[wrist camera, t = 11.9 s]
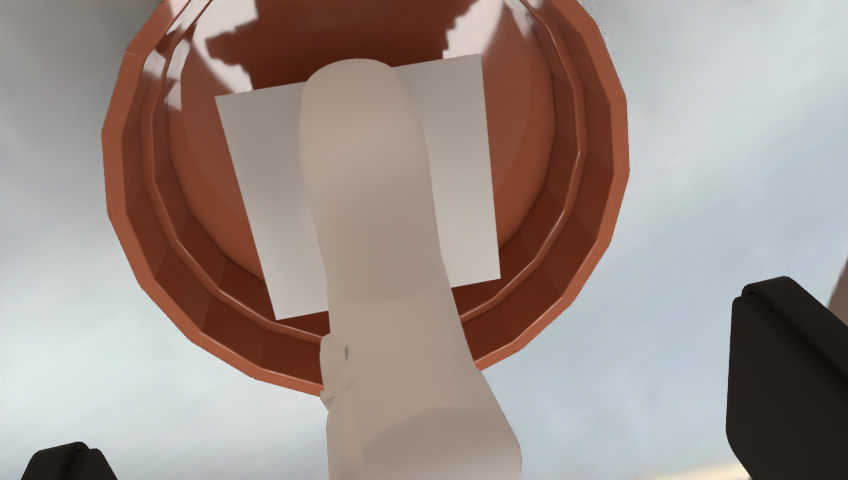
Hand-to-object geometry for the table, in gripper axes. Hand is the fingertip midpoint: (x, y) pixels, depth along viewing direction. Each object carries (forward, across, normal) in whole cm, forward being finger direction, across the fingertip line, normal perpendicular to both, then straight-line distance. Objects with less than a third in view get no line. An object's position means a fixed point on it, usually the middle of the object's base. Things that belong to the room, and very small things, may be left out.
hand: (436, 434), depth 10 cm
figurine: (+15, 0, +1) cm, 15 cm away
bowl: (+15, 0, +1) cm, 15 cm away
